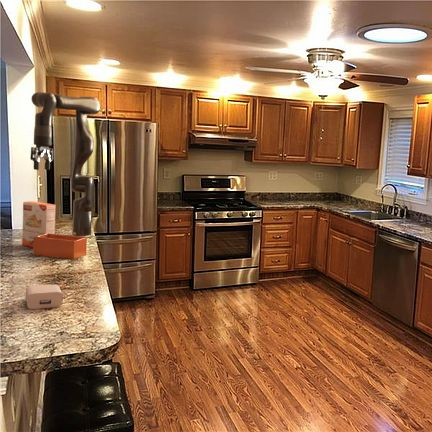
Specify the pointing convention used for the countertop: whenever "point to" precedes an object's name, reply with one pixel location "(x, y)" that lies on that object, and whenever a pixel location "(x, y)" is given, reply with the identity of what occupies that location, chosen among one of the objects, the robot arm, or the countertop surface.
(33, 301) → the charger
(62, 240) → the holder
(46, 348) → the countertop surface
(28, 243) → the cracker box
